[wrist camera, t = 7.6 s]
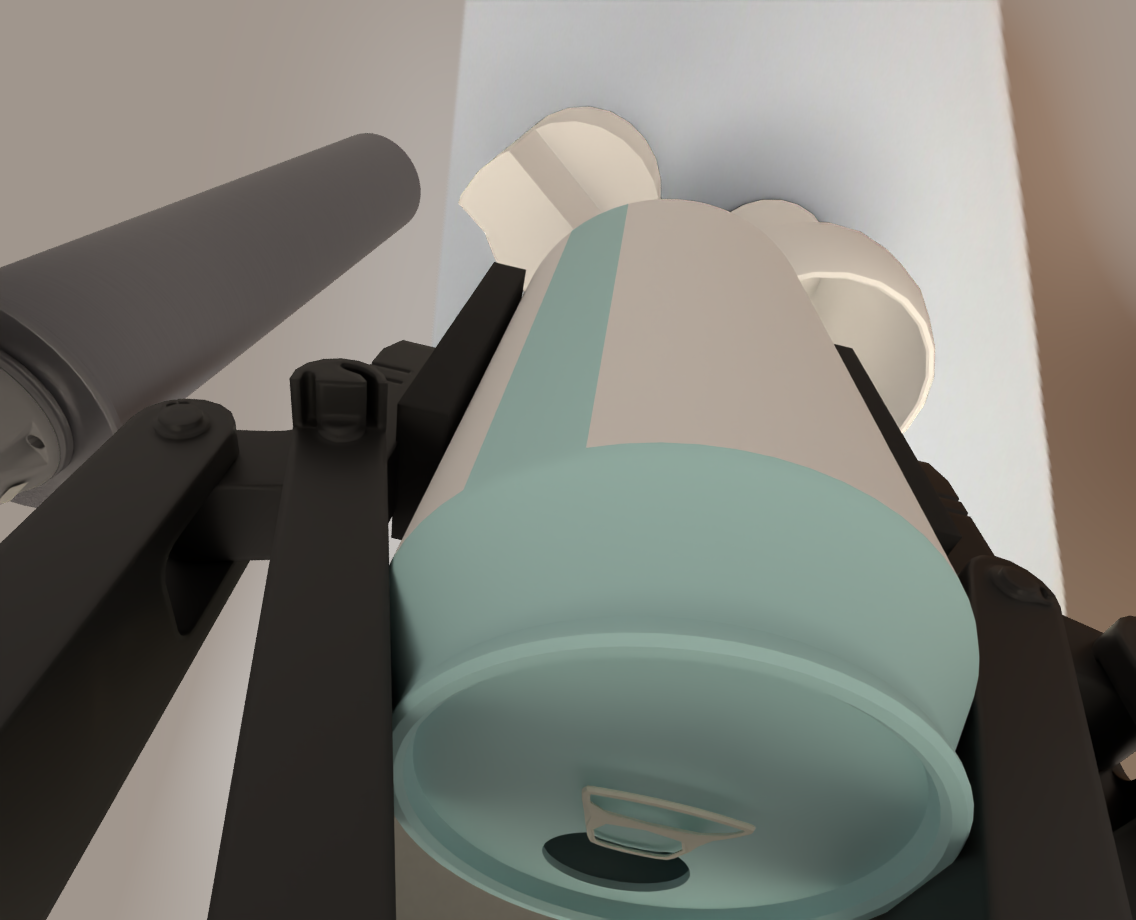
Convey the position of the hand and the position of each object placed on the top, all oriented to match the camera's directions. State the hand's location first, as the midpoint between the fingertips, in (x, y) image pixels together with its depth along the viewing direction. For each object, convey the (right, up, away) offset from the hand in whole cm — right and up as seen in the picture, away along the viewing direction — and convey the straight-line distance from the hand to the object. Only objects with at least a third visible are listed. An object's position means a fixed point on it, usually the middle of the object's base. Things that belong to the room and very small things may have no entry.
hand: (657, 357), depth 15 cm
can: (0, +1, +1) cm, 1 cm away
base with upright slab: (-1, +13, +21) cm, 25 cm away
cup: (+9, +9, +22) cm, 26 cm away
